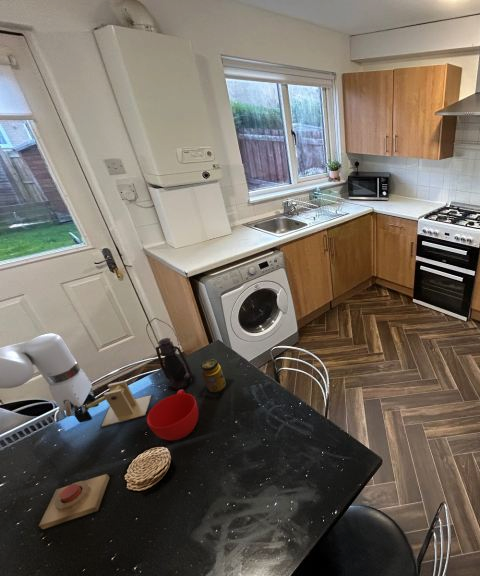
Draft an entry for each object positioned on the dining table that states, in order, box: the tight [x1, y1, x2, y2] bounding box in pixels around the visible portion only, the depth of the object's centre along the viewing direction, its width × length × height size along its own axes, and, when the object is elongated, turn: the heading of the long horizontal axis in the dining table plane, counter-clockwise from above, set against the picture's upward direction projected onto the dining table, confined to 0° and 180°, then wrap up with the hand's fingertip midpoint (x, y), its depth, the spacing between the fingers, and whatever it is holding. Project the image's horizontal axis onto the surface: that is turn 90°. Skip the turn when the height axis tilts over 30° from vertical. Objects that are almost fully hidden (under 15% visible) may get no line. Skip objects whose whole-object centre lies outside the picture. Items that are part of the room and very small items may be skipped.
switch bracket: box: [101, 380, 152, 428], centre depth 103 cm, size 12×9×12 cm
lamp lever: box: [83, 385, 125, 412], centre depth 101 cm, size 12×5×2 cm, turn 112°
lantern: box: [145, 317, 194, 390], centre depth 110 cm, size 8×8×30 cm
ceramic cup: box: [146, 389, 199, 441], centre depth 99 cm, size 13×17×10 cm
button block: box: [38, 473, 110, 530], centre depth 80 cm, size 11×9×4 cm
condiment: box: [201, 358, 227, 393], centre depth 112 cm, size 7×8×12 cm
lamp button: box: [60, 483, 82, 503], centre depth 79 cm, size 4×4×2 cm
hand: (89, 413), depth 101 cm, fingers closed on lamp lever, 5 cm apart
